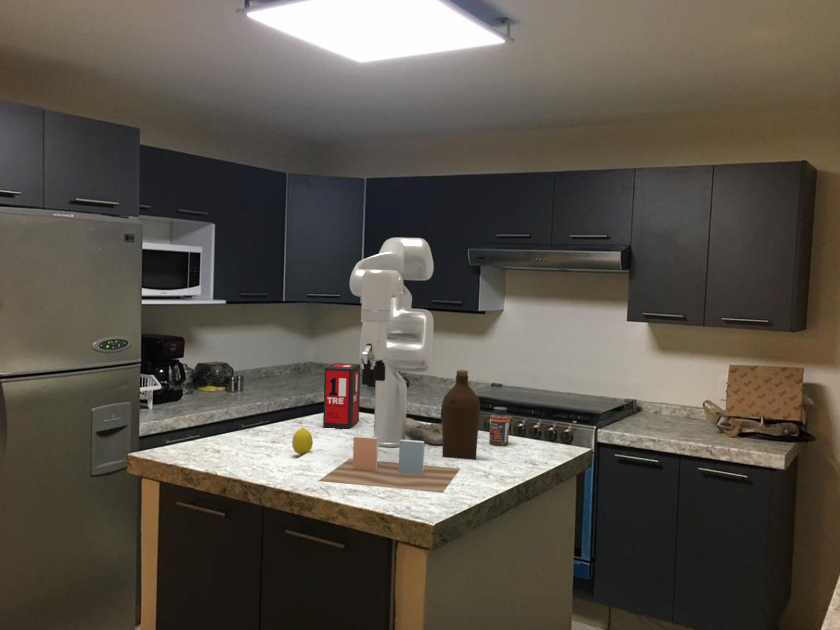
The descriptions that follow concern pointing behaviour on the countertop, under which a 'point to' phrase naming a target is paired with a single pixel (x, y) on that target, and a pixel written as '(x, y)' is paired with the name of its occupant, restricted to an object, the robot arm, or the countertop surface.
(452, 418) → the olive oil
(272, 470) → the countertop surface
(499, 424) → the supplement bottle
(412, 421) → the long grey stone
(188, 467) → the countertop surface
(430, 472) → the board
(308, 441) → the lemon
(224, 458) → the countertop surface
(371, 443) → the tile
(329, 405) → the cleaning product box
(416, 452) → the tile
